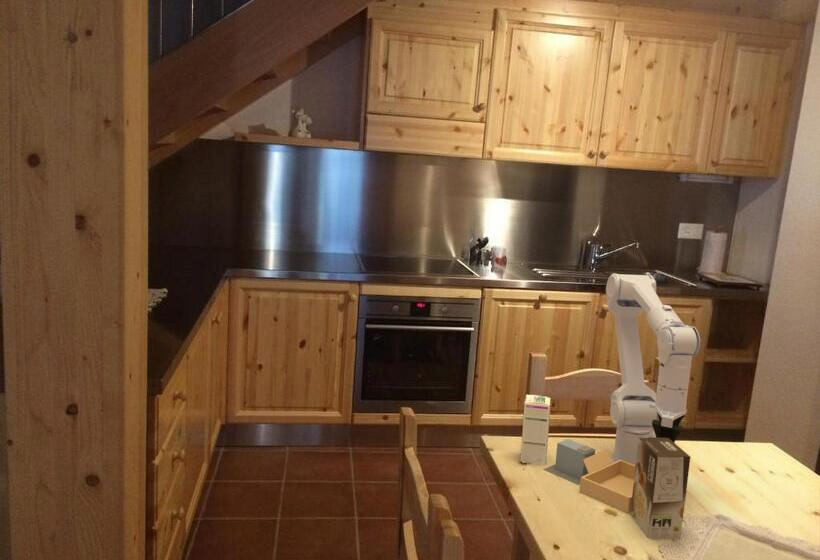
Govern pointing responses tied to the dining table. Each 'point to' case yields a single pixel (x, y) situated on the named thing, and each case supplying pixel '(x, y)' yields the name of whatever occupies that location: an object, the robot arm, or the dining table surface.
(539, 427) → the syrup box
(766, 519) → the dining table surface
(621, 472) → the carton
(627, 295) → the robot arm
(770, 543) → the dining table surface
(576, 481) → the mat
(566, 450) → the block
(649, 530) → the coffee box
